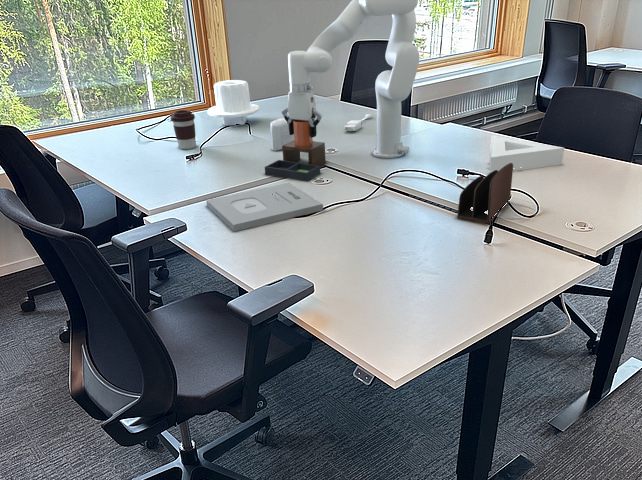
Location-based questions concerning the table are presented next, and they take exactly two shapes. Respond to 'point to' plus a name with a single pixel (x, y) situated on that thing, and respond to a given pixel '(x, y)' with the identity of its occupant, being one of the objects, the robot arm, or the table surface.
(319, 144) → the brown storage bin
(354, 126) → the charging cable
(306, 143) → the cup
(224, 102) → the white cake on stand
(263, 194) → the award plaque
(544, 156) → the triangle block
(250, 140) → the table surface
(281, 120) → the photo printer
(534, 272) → the table surface
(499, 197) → the letter holder
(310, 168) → the divided tray
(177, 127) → the coffee cup
